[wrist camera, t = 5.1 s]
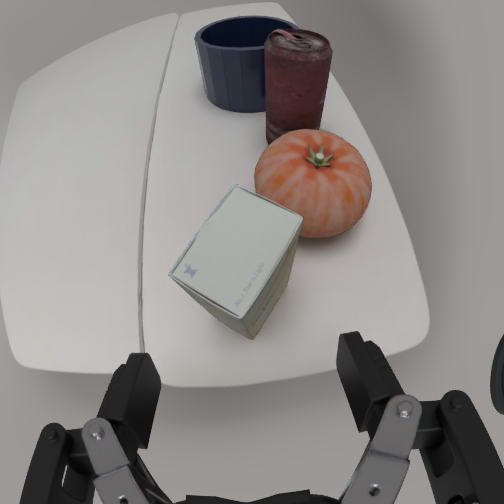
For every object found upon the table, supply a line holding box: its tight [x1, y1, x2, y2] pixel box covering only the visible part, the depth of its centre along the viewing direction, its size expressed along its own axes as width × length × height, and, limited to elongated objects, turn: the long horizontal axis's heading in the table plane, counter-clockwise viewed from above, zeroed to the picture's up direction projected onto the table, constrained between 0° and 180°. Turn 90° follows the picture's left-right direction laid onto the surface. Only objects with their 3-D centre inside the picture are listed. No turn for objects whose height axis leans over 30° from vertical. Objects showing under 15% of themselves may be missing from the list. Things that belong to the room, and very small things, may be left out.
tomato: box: [254, 129, 372, 238], centre depth 24 cm, size 11×11×8 cm
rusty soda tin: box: [264, 29, 333, 145], centre depth 25 cm, size 6×6×14 cm
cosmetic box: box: [169, 185, 303, 340], centre depth 19 cm, size 6×4×12 cm
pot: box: [194, 16, 299, 113], centre depth 31 cm, size 14×14×10 cm
